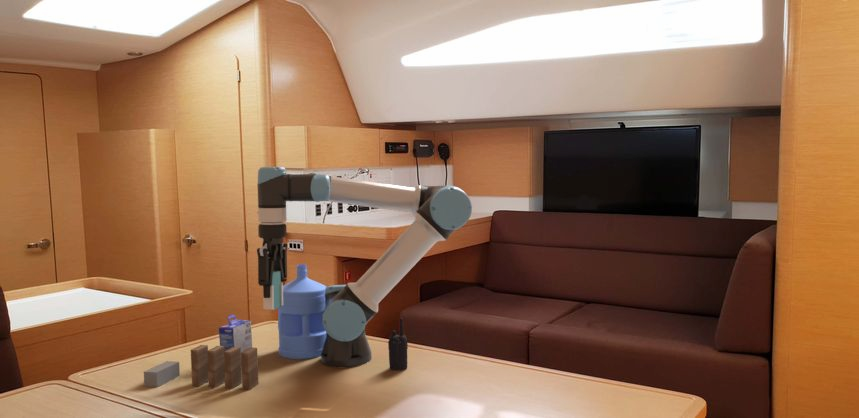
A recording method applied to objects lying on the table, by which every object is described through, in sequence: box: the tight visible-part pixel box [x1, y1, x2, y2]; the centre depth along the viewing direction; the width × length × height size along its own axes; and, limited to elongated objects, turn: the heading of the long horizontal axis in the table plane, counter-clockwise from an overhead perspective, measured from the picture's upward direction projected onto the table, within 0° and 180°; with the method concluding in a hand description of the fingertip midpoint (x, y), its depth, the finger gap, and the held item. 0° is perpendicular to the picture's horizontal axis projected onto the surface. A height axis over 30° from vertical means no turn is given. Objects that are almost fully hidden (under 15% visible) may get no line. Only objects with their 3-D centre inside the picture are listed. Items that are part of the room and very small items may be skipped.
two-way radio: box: [388, 317, 408, 371], centre depth 188 cm, size 6×4×15 cm
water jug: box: [277, 264, 327, 360], centre depth 207 cm, size 16×16×28 cm
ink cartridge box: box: [218, 314, 253, 352], centre depth 198 cm, size 10×6×14 cm, turn 164°
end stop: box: [143, 360, 181, 388], centre depth 183 cm, size 4×10×4 cm, turn 166°
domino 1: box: [190, 344, 209, 388], centre depth 180 cm, size 2×5×10 cm, turn 166°
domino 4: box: [241, 347, 259, 391], centre depth 176 cm, size 2×5×10 cm, turn 166°
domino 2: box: [207, 345, 225, 389], centre depth 179 cm, size 2×5×10 cm, turn 166°
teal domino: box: [271, 271, 281, 311], centre depth 182 cm, size 2×5×10 cm, turn 166°
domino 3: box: [224, 347, 242, 390], centre depth 178 cm, size 2×5×10 cm, turn 166°
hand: (273, 307), depth 182 cm, fingers closed on teal domino, 5 cm apart
